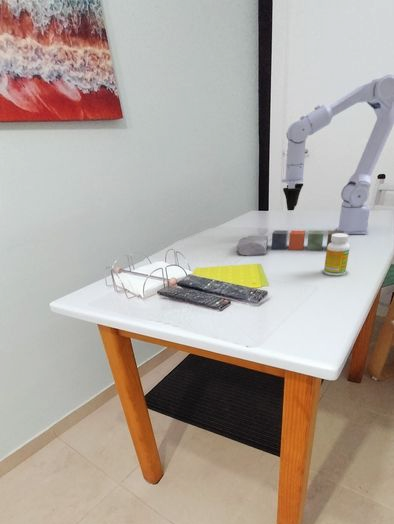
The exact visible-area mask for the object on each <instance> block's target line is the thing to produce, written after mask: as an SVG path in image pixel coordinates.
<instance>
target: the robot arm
mask: <svg viewBox="0 0 394 524" xmlns="http://www.w3.org/2000/svg"><path fill="white" fill-rule="evenodd" d="M358 103H359V104H360V103H367V105H369V106H370V107H371V108H372V109H373V112H374V114H375V116H376V121H375V123H374V126H373V127H372V130H371V133H370V135H369V138H368V140H367V142H366V144H365V147H364V150H363V152H362V154H361V157H360V159H359V161H358V164H357V166H356V169H355V171H354V173H353V174H352V175H351V176H350V178H349V179H348V181H347V183H346V185H344V186H343V187H342V189H341V193H340V198H341V200H342V202H341V208H340V214H339V215H340V216H339V219H338V220H339V221H338V227H336V231H344V234H348V235H366V234H367V229H368V226H369V217H370V210H371V205H366V204H365V203H366V202H367V201H368V199H369V197H370V196H369V195H370V189H371V188H370V187H371V184H372V179H371V177H372V175H373V172H374V170H375V168H376V165H377V163H378V161H379V158H380V157H381V154H382V152H383V150H384V148H385V145H386V143H387V140H388V138H389V136H390V134H391V132H392V129H393V127H394V74H386V75H384V76H382V77H379V78H375V79H372V80H371V81H369V82H367V83H365V84H362V85H359V86H358V87H356V88H354V89H353V90H351V91H350V92H349V93H347V94H346V95H344V96H342V97H341V98H339V99H338V100H336V101H335V102H334V103H332V104H330V105H326V104H322V105H320V104H318V105H316V106H315V107H314V110H312V111H311V112H309V113H307V114H306V115H301V116H300V117H299V120H297V121H294V122H292V123H291V124H290V125H289V127H288V128H287V132H286V133H285V134H286V139H287V149H286V162H285V163H286V164H285V165H286V166H285V178H283V179H281V183H285V184H286V187H283V188H282V191H283V194H284V196H285V203H286V209H287V211H294V210H295V208H296V207H297V205H298V203H299V202H298V201H299V197H300V193H301V191H302V188H303V186H304V183H303V182H304V171H305V170H304V169H305V158H306V140H307V139H308V137H309V136H312V135H314V134H316V133H317V132H319V131H320V130H322V129H324V128H325V127H327V126H329V125H330V124H331V122H332V119H333V117H335V116H336V115H339V114H340V113H342V112H344V111H346V110H347V109H349V108H351V107H353V106H354V105H356V104H358Z"/></svg>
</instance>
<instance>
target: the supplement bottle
mask: <svg viewBox="0 0 394 524" xmlns="http://www.w3.org/2000/svg"><path fill="white" fill-rule="evenodd" d="M349 235H350V234H344V233H335V234H332V236H331V241H332V242H331V243H329V244H328V246H327V245H326V248H327V250H326V253H325V260H324V265H323V266H324V267H323V272H324V274H326V275H327V276H328V275H329V276H335V277H336V276H343V275H345V274H346V272H347V266H348V261H349V255H350V249H351V245H350V244H349V243H348V242H349Z"/></svg>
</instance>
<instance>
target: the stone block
mask: <svg viewBox="0 0 394 524" xmlns="http://www.w3.org/2000/svg"><path fill="white" fill-rule="evenodd" d="M268 239H269V236H268V235H257V234H256V235H255V234H253V235H248V236H245V237H242V238H240V240H239V241H238V242H237V244H236V251H237V253H238V254H239V255H242V256H249V257H250V256H265V255H266V253H267V248H268V241H269V240H268Z"/></svg>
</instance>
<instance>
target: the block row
mask: <svg viewBox="0 0 394 524" xmlns="http://www.w3.org/2000/svg"><path fill="white" fill-rule="evenodd" d="M324 233H325V232H324V230H309V231H308V236H307V244H306V245H307V246H306V250H307V251H322V249H323V241H324ZM335 233H344V231H337V230H328V234H327V241H326V247H325V250H326V251H327V246H328V244H329V243H331V242H332V241H331V236H332V234H335ZM288 234H289V230H288V229H287V230H283V229H282V230H281V229H279V230H277V229H275V230H273V232H272V234H271V250H286V248H287V246H288V237H289V235H288Z"/></svg>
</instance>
